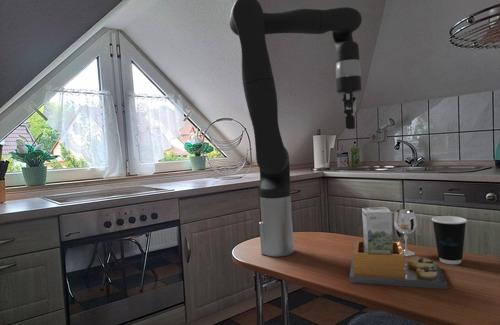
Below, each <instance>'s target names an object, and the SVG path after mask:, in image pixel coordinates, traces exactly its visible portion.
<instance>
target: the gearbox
mask: <svg viewBox="0 0 500 325" xmlns="http://www.w3.org/2000/svg"><path fill="white" fill-rule="evenodd" d="M392 244H393V254H382V253H364V242H363V240H354V244H353V245H354V246H353V254H352V258H351V259H352V260H351V263H350V264H351V265H350V271H349V278H348V279H349V283H350V284H351V283H352V284H354V283H355V284H364V285H365V284H368V285H383V286H396V287H398V286H399V287H412V288H425V289H427V288H428V289H441V290H442V289H443V290H447V289H448V282H447V280H446V278H445V276H444V274H443V271H442V269H441V268H440V266H439V265H438V262H437V261H434V260H431V259H429V258H426V257H425V258H424V257H420V256H419V257H411V258H409V259H406V257H405V255H404V252H403V251H404V249H403V245H402V241H392Z"/></svg>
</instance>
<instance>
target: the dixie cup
mask: <svg viewBox="0 0 500 325" xmlns="http://www.w3.org/2000/svg"><path fill="white" fill-rule="evenodd" d="M431 220H432V224H433V231H434V236H435V244H436V249H437V250H436V251H437V256H438V258H439V261H440V262H441V263H443V264H447V265H459V264H461V263H462V260H463V256H464V255H463V254H464V243H465V235H466V234H465V232H466V226H467V225H466V224H467V222H468V220H467V219H466V218H463V217H460V216H455V215H454V216H452V215H440V216H439V215H438V216H433V217H432V218H431Z"/></svg>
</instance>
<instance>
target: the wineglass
mask: <svg viewBox="0 0 500 325" xmlns="http://www.w3.org/2000/svg"><path fill="white" fill-rule="evenodd" d="M393 225H394V228H395V230H396V231H397V232H399V233H400V234H403V239H404V249H403V252H404V255H405V256H406V257H411V256H415V255H416V252H414V251H411V250H409V249H408V239H409V238H408V237H409V236H408V235H409V234H412V233H414V232H415V231H416V229H417V217H416V214H415V211H414V210H412V209H405V208H404V209H397V210H395V213H394V219H393Z"/></svg>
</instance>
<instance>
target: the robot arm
mask: <svg viewBox="0 0 500 325" xmlns="http://www.w3.org/2000/svg"><path fill="white" fill-rule="evenodd" d="M362 17H363V16H362V14H361V13H360V11H359V10H357V9H355V8H353V7H347V6H345V7H336V8H329V9H320V8H319V9H316V8H297V9H293V10H288V11H282V12H272V13H271V12H270V13H269V12H264V10H263V8H262V5H261V3H260V2H259V1H258V0H236V1H235V2H234V4H233V6H232V7H231V10H230V15H229V20H228V23H229V28H230V29H231V31H232V32H233V34H235V35H237V36H238V38H239V42H240V48H241V50H240V51H241V77H242V78H241V79H242V88H243V91H244V97H245V102H246V106H247V110H248V114H249V117H250V118H249V119H250V121H251V124H252V127H253V128H252V129H253V135H254V145H255V158H256V159H255V160H256V164H257V166H258V168H259V177H260V178H259V202H260V203H259V204H260V219H261V221H260V222H259V236H260V239H259V240H260V254H261V255H266V256H268V257H286V256H290V255H291V254H293V253H294V250H295V249H294V247H295V246H294V232H293V219H292V218H293V217H292V216H293V215H292V201H291V200H292V198H291V196H292V195H291V170H290V168H291V167H290V155H289V152H288V151H289V150H288V149H287V148H286V147H285V145H284V142H283V138H282V136H281V130H280V128H279V119H278V118H279V117H278V116H279V115H278V114H279V111H278V110H279V107H278V96H277V89H276V84H275V83H276V82H275V79H274V74H273V70H272V65H271V61H270V55H269V50H268V46H267V42H266V35H273V34H306V35H307V34H309V35H322V34H326V33H329V32H330V33H331V38H332V42H333V46H334V49H335V82H336V83H335V84H336V93H337V94H340V95H341V94H342V97H343V98H342V109H343V113H344V116H345V128H346V129H348V130H353V129H355V128H356V122H355V121H356V119H355V117H356V111H357V106H356V104H357V97H355V96H354V94H355V93H358V92H361V91H362V70H361V63H360V48H359V47H360V46H359V44H358V43H357V42H356V41H354V39H353V33H354V32H355V31H357V30H358V29H359V28H360V26H361V25H362V20H363V19H362Z"/></svg>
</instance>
